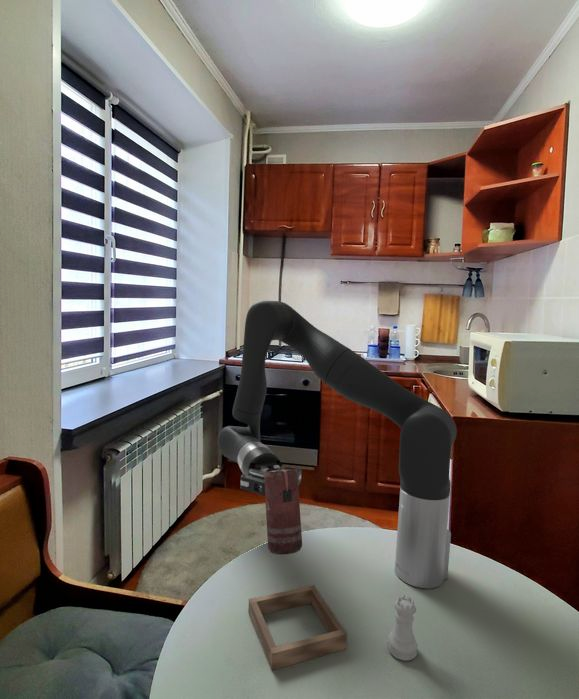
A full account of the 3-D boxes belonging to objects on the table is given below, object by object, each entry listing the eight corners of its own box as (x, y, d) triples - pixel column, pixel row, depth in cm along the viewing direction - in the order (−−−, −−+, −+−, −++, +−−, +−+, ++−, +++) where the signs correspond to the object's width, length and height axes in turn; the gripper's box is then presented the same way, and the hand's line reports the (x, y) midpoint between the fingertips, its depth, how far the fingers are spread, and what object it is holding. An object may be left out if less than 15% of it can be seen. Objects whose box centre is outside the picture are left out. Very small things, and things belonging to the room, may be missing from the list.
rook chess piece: (418, 665, 61) (422, 614, 61) (387, 659, 62) (390, 608, 62) (415, 642, 66) (419, 594, 65) (386, 637, 67) (389, 589, 66)
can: (278, 558, 71) (273, 472, 73) (262, 549, 76) (258, 469, 78) (309, 550, 74) (303, 468, 76) (292, 542, 79) (287, 465, 81)
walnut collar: (313, 598, 75) (313, 585, 75) (346, 649, 64) (346, 633, 64) (248, 613, 71) (248, 599, 70) (271, 670, 59) (272, 653, 59)
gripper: (228, 449, 87) (252, 481, 71) (288, 443, 92) (323, 472, 76) (227, 484, 87) (250, 524, 71) (287, 477, 92) (321, 513, 76)
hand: (287, 497), depth 73 cm, fingers closed
